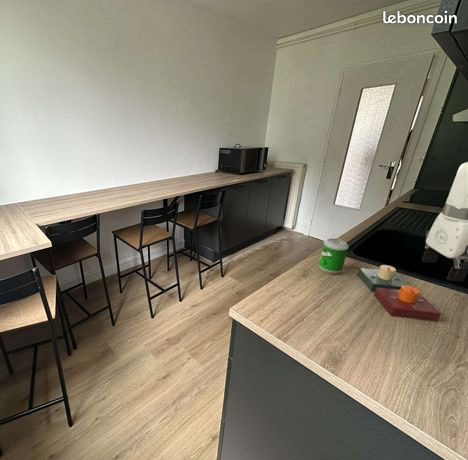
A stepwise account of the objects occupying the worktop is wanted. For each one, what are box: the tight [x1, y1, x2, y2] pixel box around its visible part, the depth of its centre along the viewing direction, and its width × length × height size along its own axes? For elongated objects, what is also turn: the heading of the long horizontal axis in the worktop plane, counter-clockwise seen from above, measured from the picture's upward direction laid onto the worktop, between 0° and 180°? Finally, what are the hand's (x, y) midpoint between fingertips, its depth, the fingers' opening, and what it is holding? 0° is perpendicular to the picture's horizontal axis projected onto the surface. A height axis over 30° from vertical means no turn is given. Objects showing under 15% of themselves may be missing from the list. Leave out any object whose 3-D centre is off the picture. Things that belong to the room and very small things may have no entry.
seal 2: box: [398, 285, 421, 303], centre depth 74 cm, size 4×4×4 cm
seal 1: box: [377, 264, 397, 280], centre depth 85 cm, size 4×4×4 cm
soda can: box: [318, 237, 349, 275], centre depth 94 cm, size 8×8×12 cm
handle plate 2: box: [373, 288, 442, 323], centre depth 75 cm, size 11×10×3 cm
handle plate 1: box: [357, 267, 412, 293], centre depth 86 cm, size 11×10×3 cm
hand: (440, 270), depth 70 cm, fingers open, 9 cm apart
